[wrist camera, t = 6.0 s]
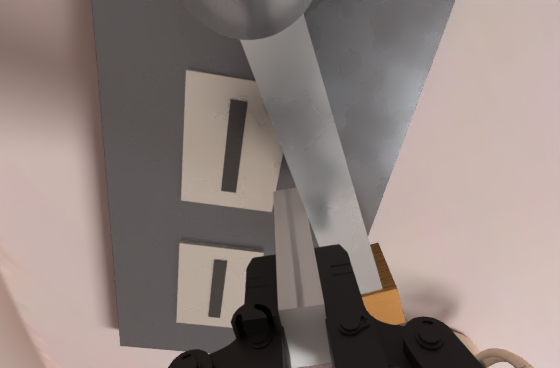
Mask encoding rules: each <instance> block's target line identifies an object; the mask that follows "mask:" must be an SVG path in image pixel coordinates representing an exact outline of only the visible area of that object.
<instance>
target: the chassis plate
mask: <svg viewBox="0 0 560 368" xmlns="http://www.w3.org/2000/svg"><path fill="white" fill-rule="evenodd" d="M454 2H455V0H312V2H311V4H310V5H309V7H308V8H307V9H306V11H305V12H304V13H303V14H304V17H305V21H306V24H307V28H308V31H309V35H310V38H311V42H312V45H313V49H314V52H315V55H316V59H317V62H318V66H319V69H320V73H321V76H322V80H323V83H324V87H325V90H326V94H327V97H328V101H329V104H330V108H331V111H332V114H333V118H334V121H335V125H336V128H337V132H338V135H339V139H340V142H341V146H342V149H343V153H344V156H345V160H346V163H347V167H348V170H349V174H350V177H351V180H352V184H353V187H354V191H355V194H356V198H357V201H358V205H359V208H360V212H361V215H362V219H363V222H364V226H365V229H366V233H367V236H368V235H369V232H370V229H371V226H372V224H373V221H374V218H375V216H376V213H377V210H378V208H379V205H380V202H381V199H382V197H383V194H384V191H385V189H386V186H387V183H388V181H389V178H390V175H391V172H392V170H393V167H394V164H395V162H396V159H397V156H398V154H399V151H400V148H401V145H402V143H403V140H404V137H405V135H406V132H407V129H408V127H409V124H410V121H411V118H412V116H413V113H414V110H415V108H416V105H417V102H418V99H419V97H420V94H421V91H422V89H423V86H424V83H425V81H426V78H427V75H428V72H429V70H430V67H431V64H432V62H433V59H434V56H435V54H436V51H437V48H438V45H439V43H440V40H441V37H442V35H443V32H444V29H445V27H446V24H447V21H448V18H449V16H450V13H451V10H452V8H453V5H454ZM92 10H93V22H94V34H95V46H96V58H97V70H98V82H99V94H100V106H101V118H102V130H103V142H104V154H105V166H106V178H107V190H108V202H109V214H110V227H111V239H112V251H113V263H114V275H115V287H116V299H117V311H118V323H119V335H120V346H129V347H140V348H152V349H164V350H175V351H188V350H193V349H200V350H203V351H206V352H207V353H210V354H211V353H213V352H216V351H218V350H220V349H222V348H224V347H226V346H228V345H229V344H230V343H232V342H233V341H234V340H235V339H236V337H235V334H234V331H233V328H232V325H231V319H232V316H233V314H234V313H235V312H236V310H237V309H238V308H239V307H241V306H242V305H244V300H245V284H246V268H247V266H248V265H249V263H250V261H251V259H252V258H254V257H261V256H268V255H274V254H276V247H275V224H274V200H273V191H278V190H285V189H291V188H297V187H296V185H295V182H294V179H293V177H292V174H291V171H290V169H289V166H288V164H287V161H286V158H285V156H284V153H283V151H282V148H281V145H280V143H279V140H278V138H277V135H276V132H275V130H274V127H273V125H272V122H271V119H270V117H269V114H268V111H267V109H266V106H265V104H264V101H263V98H262V96H261V93H260V91H259V88H258V85H257V83H256V80H255V78H254V75H253V72H252V70H251V67H250V64H249V62H248V59H247V57H246V54H245V51H244V49H243V46H242V44H241V41H240V39H234V38H230V37H226V36H223V35H221V34H219V33H216V32H214V31H213V30H211V29H209V28H207V27H206V26H205V25H203V24H202V23H201V22H199V21H198V20H197V19H196V18H195V17H194V16H193V15H192V14H191V13H190V12H189V11H188V10H187V8H186V7H185V6H184V5H183V3H182V2H181V0H92ZM308 220H309V218H308ZM309 226H310V231H311V236H312V241H313V247H314V248H316V247H319V245H318V242H317V239H316V237H315V234H314V232H313V229H312V226H311V224H310V221H309Z"/></svg>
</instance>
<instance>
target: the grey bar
mask: <svg viewBox="0 0 560 368" xmlns="http://www.w3.org/2000/svg"><path fill="white" fill-rule="evenodd" d="M181 2H182V3H183V5H184V6H185V7H186V8H187V10H188V11H189V12H190V13H191V14H192V15H193V16H194V17H195V18H196V19H197V20H198V21H199V22H201V23H202V24H203V25H205V26H206V27H207V28H209V29H211V30H213V31H214V32H216V33H219V34H221V35H223V36H226V37H230V38H234V39H240V41H241V44H242V46H243V49H244V51H245V54H246V57H247V59H248V62H249V64H250V67H251V70H252V72H253V75H254V78H255V80H256V83H257V85H258V88H259V91H260V93H261V96H262V98H263V101H264V104H265V106H266V109H267V111H268V114H269V117H270V119H271V122H272V125H273V127H274V130H275V132H276V135H277V138H278V140H279V143H280V145H281V148H282V151H283V153H284V156H285V158H286V161H287V164H288V166H289V169H290V171H291V174H292V177H293V179H294V182H295V185H296V187H297V190H298V192H299V195H300V198H301V200H302V203H303V205H304V208H305V211H306V213H307V215H308V218H309V221H310V224H311V226H312V229H313V232H314V234H315V237H316V239H317V242H318V245H319V247H323V246H329V245H336V244H340V245H341V246H342V247H343V248H344V249H345V250H346V251H347V252H348V255H349V258H350V261H351V265H352V268H353V271H354V274H355V277H356V280H357V284H358V287H359V290H360V293H361V296H362V300H363V303H364V306H365V308H366V310H367V311H368V312H369V313H370V315H371V316H373V317H374V318H375V319H377V320H379V321H381V322H384V323H388V324H393V325H397V324H401V323H405V322H406V321H405V317H404V314H403V310H402V306H401V302H400V298H399V294H398V290H397V287H396V285H395V282H394V280H393V278H392V275H391V273H390V270H389V268H388V266H387V263H386V261H385V258H384V256H383V253H382V251H381V249H380V246H379V244H378V243H375V244H371V245H370V243H369V239H368V236H367V233H366V229H365V226H364V222H363V219H362V215H361V212H360V208H359V205H358V201H357V198H356V194H355V191H354V187H353V184H352V180H351V177H350V174H349V170H348V167H347V163H346V160H345V156H344V153H343V149H342V146H341V142H340V139H339V135H338V132H337V128H336V125H335V121H334V118H333V114H332V111H331V108H330V104H329V101H328V97H327V94H326V90H325V87H324V83H323V80H322V76H321V73H320V69H319V66H318V62H317V59H316V55H315V52H314V49H313V45H312V42H311V38H310V35H309V31H308V28H307V24H306V21H305V17H304V14H303V13H304V12H305V11H306V9H307V8H308V7H309V5H310V4H311V2H312V0H181Z"/></svg>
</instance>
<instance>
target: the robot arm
mask: <svg viewBox="0 0 560 368" xmlns="http://www.w3.org/2000/svg"><path fill="white" fill-rule="evenodd" d="M273 200H274V224H275V247H276V254H274V255H268V256H261V257H254V258H252V259H251V261H250V263H249V265H248V266H247V268H246V284H245V300H244V305H242V306H241V307H239V308H238V309H237V310H236V312H235V313H234V314H233V316H232V319H231V325H232V328H233V331H234V334H235V337H236V339H235V340H234V341H233V342H232V343H230V344H229V345H228V346H226V347H224V348H222V349H220V350H218V351H216V352H213V353H211V354H208V353H207V352H206V351H203V350H200V349H193V350H188V351H186V352H184V353H181V354H180V355H179V356H178V357H176V358H175V359H174V360H173V361H172V363H171V364H170V366H169V367H168V368H291V367H292V368H298V367H305V366H314V365H321V364H329V363H332V368H484V367H483V365H482V364H481V363H480V362H479V361H478V360H477V359H476V357H475V356H474V355H473V354H472V353H471V352H470V351H469V349H468V348H467V347H466V346H465V345H464V344H463V343H462V341H461V340H460V339H459V338H458V337H457V336H456V335H455V333H454V332H453V331H452V330H451V329H450V328H449V327H448V326H447V325H445V324H444V323H443V322H441V321H439V320H437V319H434V318H430V317H418V318H414V319H412V320H410V321H409V322H407V324H406V325H405V326H400V325H393V324H388V323H384V322H381V321H379V320H377V319H375V318H374V317H373V316H371V315H370V313H369V312H368V311H367V310H366V308H365V306H364V303H363V300H362V296H361V293H360V290H359V287H358V284H357V280H356V277H355V274H354V271H353V268H352V265H351V261H350V258H349V255H348V252H347V251H346V250H345V249H344V248H343V247H342V246H341V245H340V244H336V245H329V246H323V247H316V248H314V247H313V241H312V236H311V231H310V226H309V220H308V215H307V213H306V211H305V208H304V205H303V203H302V200H301V198H300V195H299V192H298V190H297V188H291V189H285V190H278V191H273Z"/></svg>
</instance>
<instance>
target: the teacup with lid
mask: <svg viewBox="0 0 560 368" xmlns="http://www.w3.org/2000/svg"><path fill="white" fill-rule="evenodd" d="M453 332H454V331H453ZM454 333H455V335H456V336H457V337H458V338H459V339H460V340H461V341H462V343H463V344H464V345H465V346H466V347H467V348H468V349H469V351H470V352H471V353H472V354H473V355H474V356H475V357H476V359H477V360H478V361H479V362H480V363H481V364H482V365H483V367H484V368H488V367H489V366H491V365H493V364H495V363H498V362H508V363H510V364H511V365H512V366H514V367H515V368H533V367H532V366H531V365H530V364H529V363H528V362H527V361H525V360H524V359H523V358H521V357H519V356H518V355H516V354H514V353H511V352H509V351H506V350H503V349H498V348H492V349H487V350H484V351H481V352H479V350H478V349H477V347H476V345H475V344H474V343H473V342H472V341H471V340H470V339H469V338H467V337H466V336H464V335H462V334H460V333H457V332H454Z"/></svg>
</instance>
